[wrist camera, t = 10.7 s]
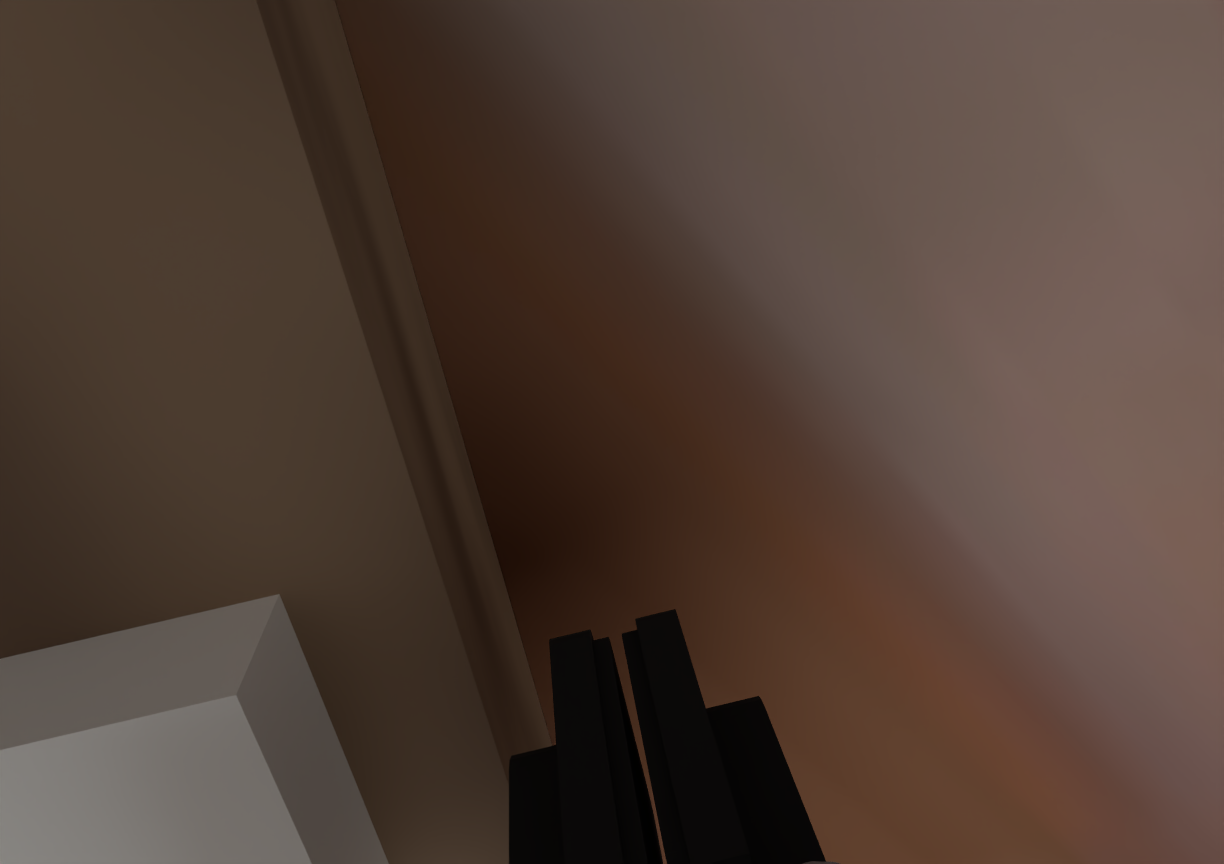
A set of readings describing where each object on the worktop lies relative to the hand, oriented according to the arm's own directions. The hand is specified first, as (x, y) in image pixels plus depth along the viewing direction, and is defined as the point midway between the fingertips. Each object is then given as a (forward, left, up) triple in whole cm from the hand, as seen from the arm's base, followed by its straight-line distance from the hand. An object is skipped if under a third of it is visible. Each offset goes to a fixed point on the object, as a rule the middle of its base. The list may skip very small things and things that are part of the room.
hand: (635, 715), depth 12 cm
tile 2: (+6, 0, -1) cm, 7 cm away
